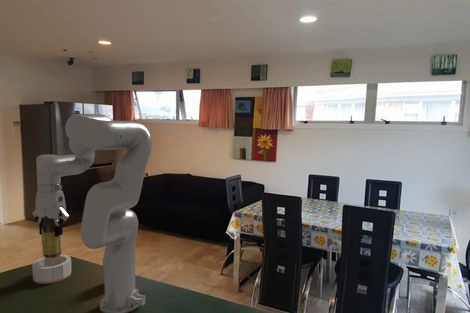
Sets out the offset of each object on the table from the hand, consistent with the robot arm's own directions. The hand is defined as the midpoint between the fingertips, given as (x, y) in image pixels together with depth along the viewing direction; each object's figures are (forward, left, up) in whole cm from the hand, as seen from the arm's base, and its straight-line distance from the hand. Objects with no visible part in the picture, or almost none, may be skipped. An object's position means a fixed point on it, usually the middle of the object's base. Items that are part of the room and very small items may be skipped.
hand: (51, 234), depth 122 cm
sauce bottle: (0, 0, -9) cm, 9 cm away
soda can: (-26, -1, -17) cm, 31 cm away
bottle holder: (0, 0, -17) cm, 17 cm away
